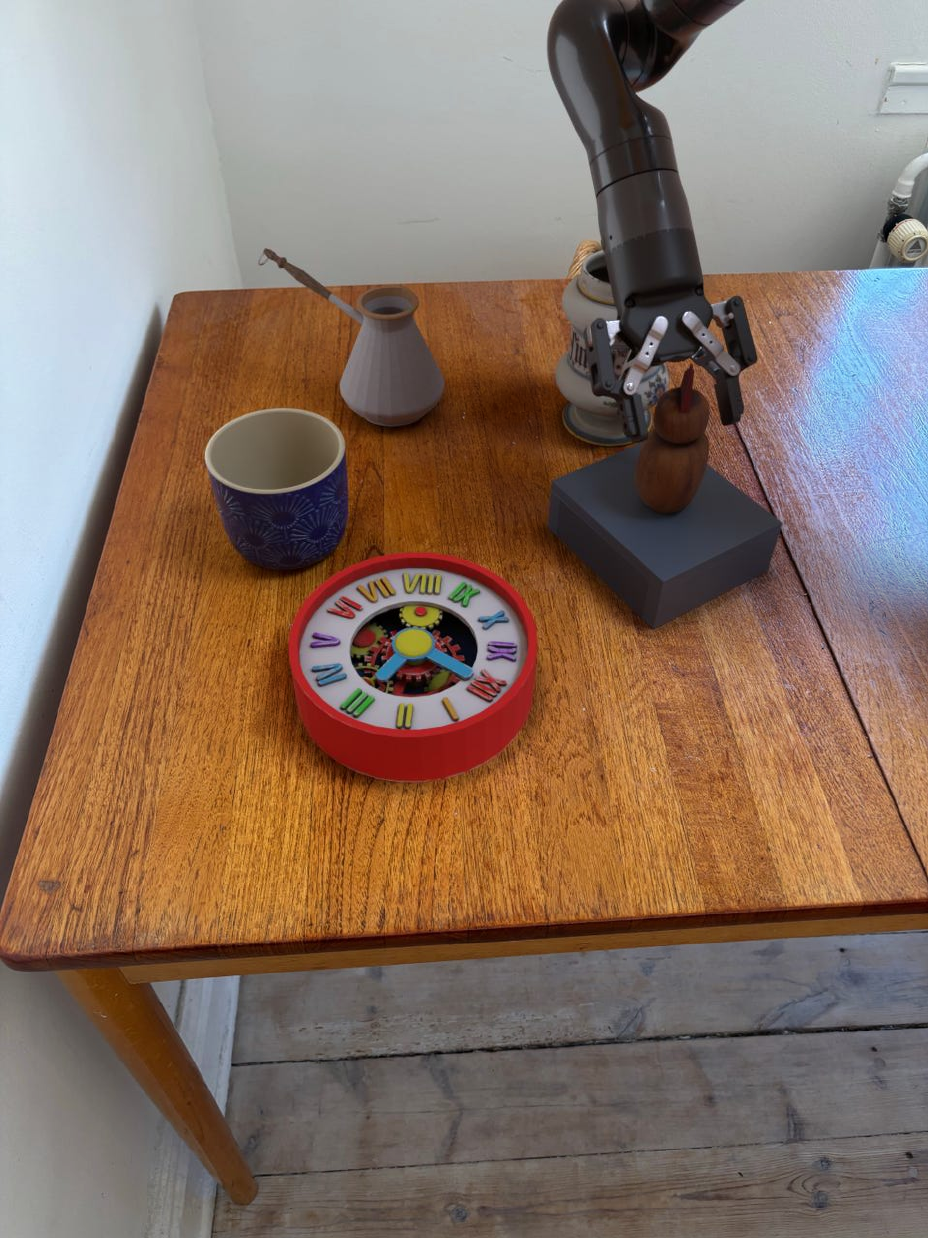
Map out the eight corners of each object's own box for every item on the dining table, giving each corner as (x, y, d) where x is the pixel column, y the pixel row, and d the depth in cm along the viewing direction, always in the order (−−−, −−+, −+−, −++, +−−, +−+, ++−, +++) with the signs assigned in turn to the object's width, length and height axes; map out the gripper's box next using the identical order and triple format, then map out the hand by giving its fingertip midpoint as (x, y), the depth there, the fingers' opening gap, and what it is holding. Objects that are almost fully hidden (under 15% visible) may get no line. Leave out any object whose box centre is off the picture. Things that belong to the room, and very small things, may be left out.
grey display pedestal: (657, 479, 104) (666, 431, 100) (768, 570, 95) (783, 522, 90) (547, 528, 99) (551, 480, 94) (653, 629, 90) (663, 581, 85)
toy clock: (391, 521, 90) (584, 615, 83) (394, 568, 95) (577, 661, 87) (234, 659, 79) (441, 782, 71) (246, 705, 84) (442, 826, 76)
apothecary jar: (599, 376, 117) (617, 225, 104) (683, 420, 111) (714, 266, 98) (529, 419, 111) (538, 265, 98) (613, 468, 105) (636, 311, 92)
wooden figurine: (681, 531, 90) (712, 387, 79) (621, 510, 91) (643, 367, 81) (707, 488, 94) (740, 346, 83) (649, 469, 96) (674, 328, 85)
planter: (312, 600, 92) (298, 508, 84) (199, 560, 95) (175, 468, 87) (377, 518, 100) (370, 427, 92) (270, 484, 103) (254, 394, 95)
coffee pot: (463, 394, 114) (463, 270, 103) (412, 449, 107) (407, 322, 96) (306, 345, 121) (291, 224, 110) (248, 394, 114) (226, 269, 103)
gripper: (584, 237, 79) (626, 440, 80) (746, 213, 82) (784, 409, 83) (555, 269, 87) (593, 455, 88) (704, 245, 90) (740, 425, 91)
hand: (686, 432), depth 85 cm, fingers open, 8 cm apart
